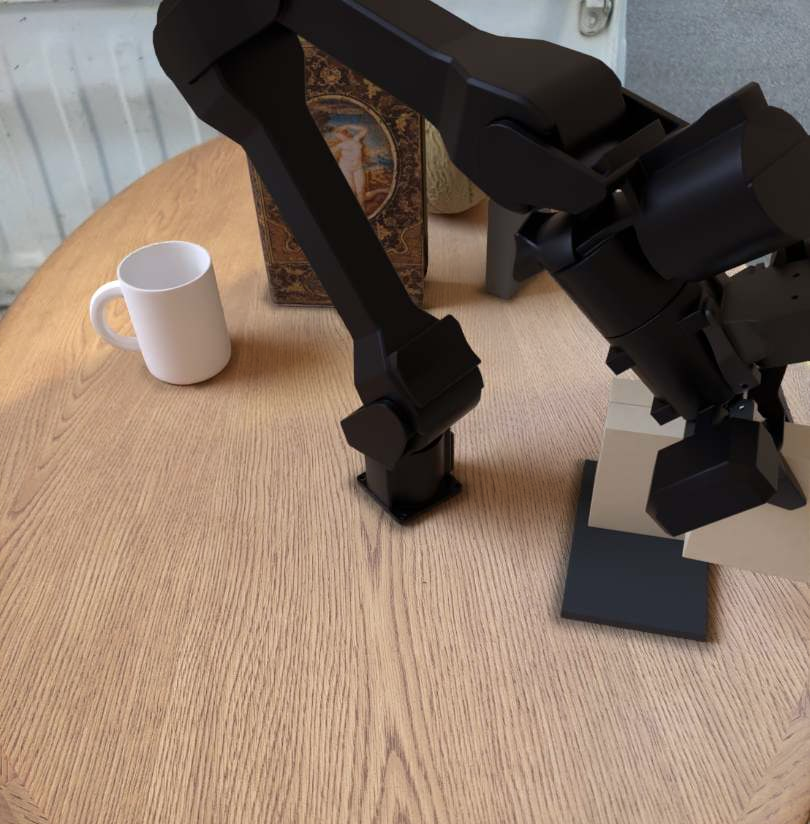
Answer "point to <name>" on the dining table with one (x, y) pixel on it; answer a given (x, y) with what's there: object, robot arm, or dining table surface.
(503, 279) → the grey books
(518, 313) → the dining table surface
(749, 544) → the cream book
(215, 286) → the mug
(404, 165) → the book
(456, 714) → the dining table surface
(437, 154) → the cantaloupe
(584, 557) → the book mat
